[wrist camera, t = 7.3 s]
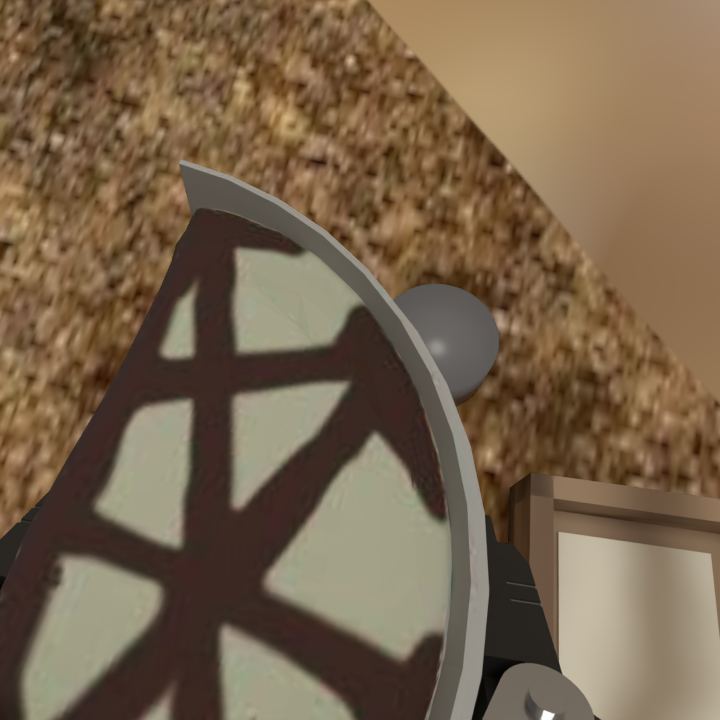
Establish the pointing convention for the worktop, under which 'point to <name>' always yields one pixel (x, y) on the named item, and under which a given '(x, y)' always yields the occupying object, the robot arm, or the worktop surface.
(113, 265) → the worktop surface
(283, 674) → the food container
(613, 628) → the tray
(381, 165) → the worktop surface
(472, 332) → the grey domed puck
